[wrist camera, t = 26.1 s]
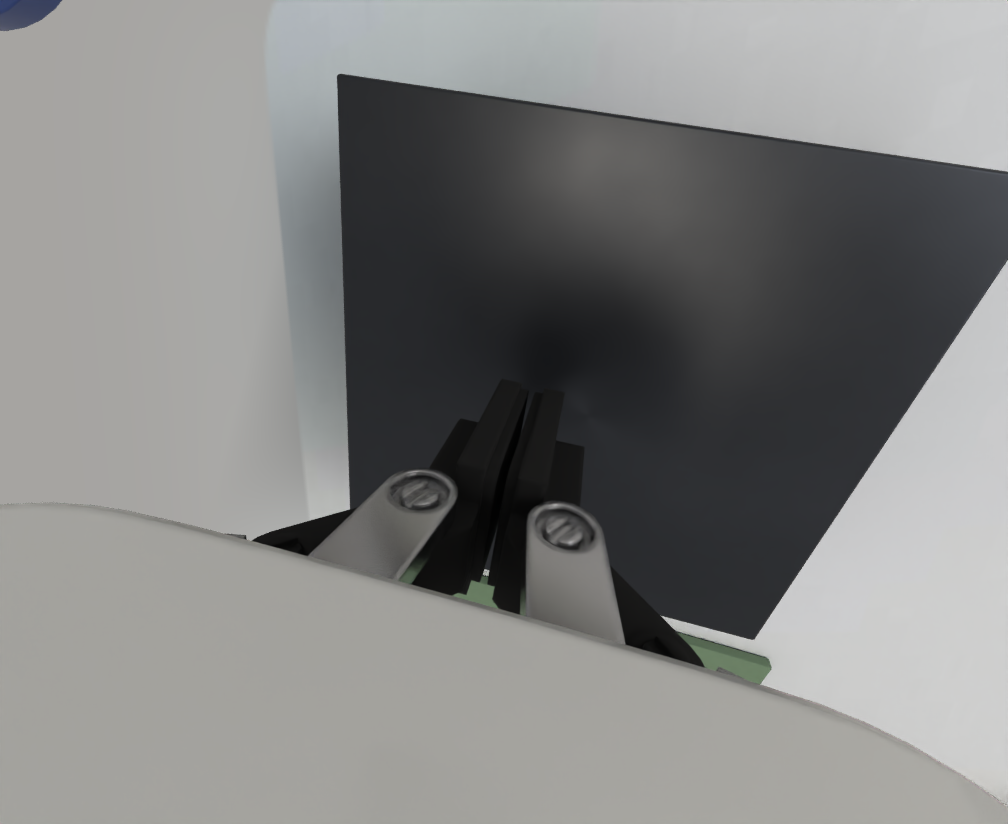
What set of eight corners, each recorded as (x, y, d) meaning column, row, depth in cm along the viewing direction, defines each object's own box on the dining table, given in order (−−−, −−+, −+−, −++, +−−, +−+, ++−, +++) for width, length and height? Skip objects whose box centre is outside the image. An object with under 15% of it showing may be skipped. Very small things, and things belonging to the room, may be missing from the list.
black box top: (359, 521, 19) (350, 533, 18) (351, 79, 12) (335, 72, 11) (748, 622, 17) (754, 641, 17) (1031, 180, 10) (1063, 179, 9)
